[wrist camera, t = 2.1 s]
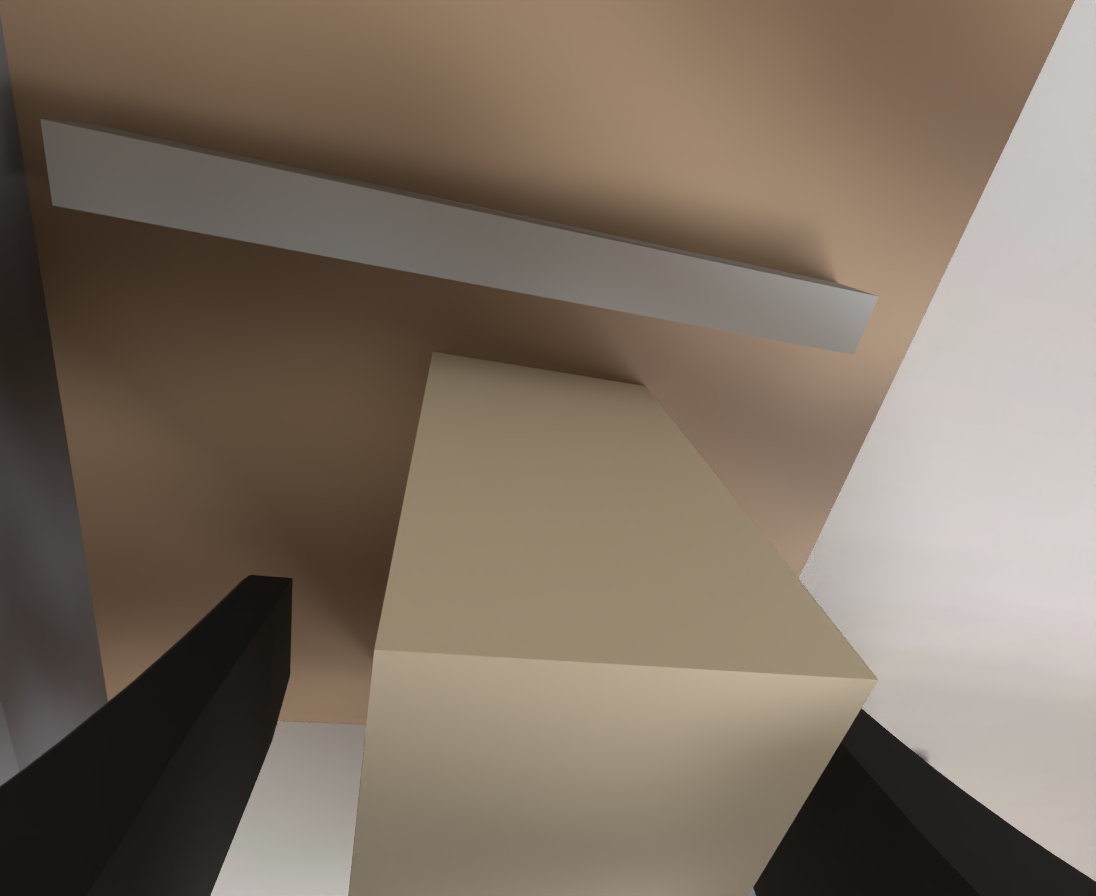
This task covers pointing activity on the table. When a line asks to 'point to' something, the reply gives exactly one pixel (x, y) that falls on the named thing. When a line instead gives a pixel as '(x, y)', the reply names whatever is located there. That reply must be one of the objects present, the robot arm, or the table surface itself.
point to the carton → (585, 657)
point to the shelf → (436, 277)
